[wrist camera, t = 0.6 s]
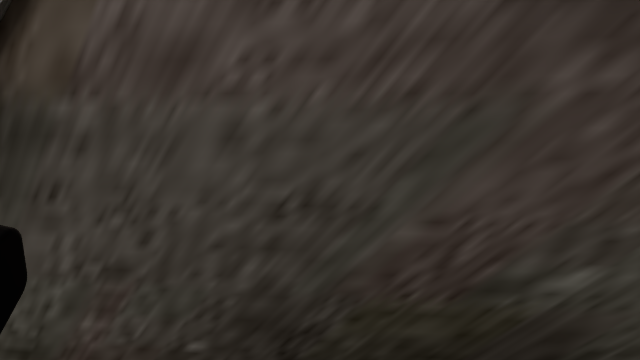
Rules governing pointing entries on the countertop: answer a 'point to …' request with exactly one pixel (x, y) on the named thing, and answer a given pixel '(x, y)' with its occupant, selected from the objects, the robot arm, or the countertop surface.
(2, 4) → the label panel
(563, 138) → the countertop surface
